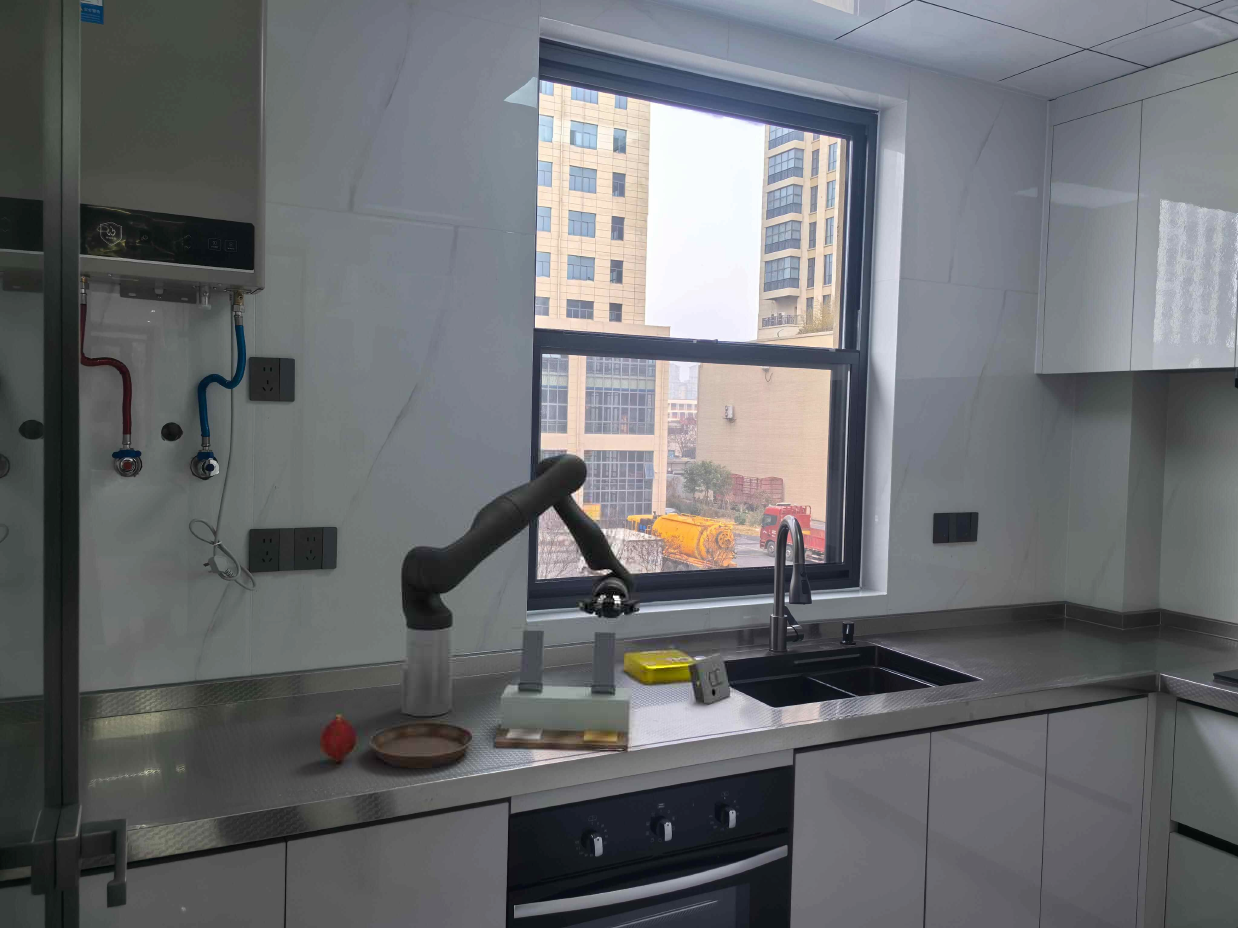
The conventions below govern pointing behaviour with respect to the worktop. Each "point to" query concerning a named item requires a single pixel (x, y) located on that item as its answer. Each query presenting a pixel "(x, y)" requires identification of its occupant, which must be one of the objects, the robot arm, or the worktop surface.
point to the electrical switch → (709, 679)
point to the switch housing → (565, 709)
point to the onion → (338, 738)
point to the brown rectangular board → (561, 739)
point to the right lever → (604, 663)
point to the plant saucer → (421, 744)
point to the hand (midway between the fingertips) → (607, 612)
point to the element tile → (659, 666)
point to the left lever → (532, 661)
